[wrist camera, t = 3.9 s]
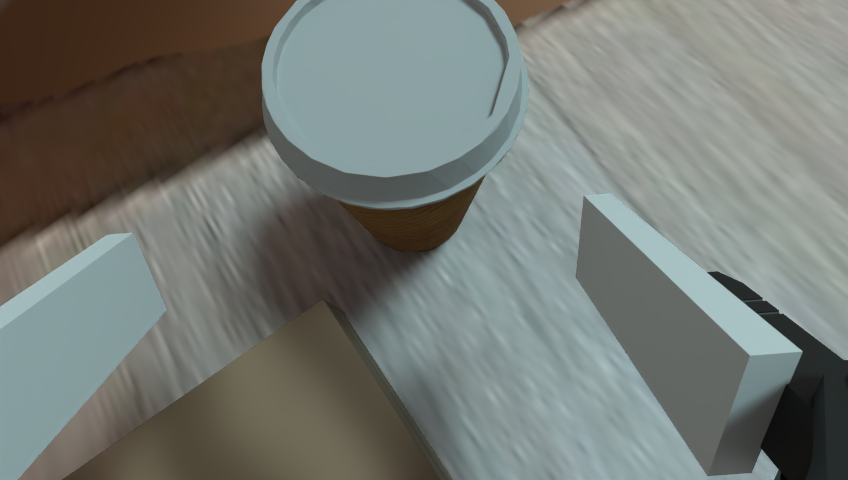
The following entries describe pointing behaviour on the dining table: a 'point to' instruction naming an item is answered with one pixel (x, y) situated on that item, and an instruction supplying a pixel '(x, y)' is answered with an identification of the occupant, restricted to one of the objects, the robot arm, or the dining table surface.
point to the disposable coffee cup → (395, 107)
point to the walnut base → (281, 418)
